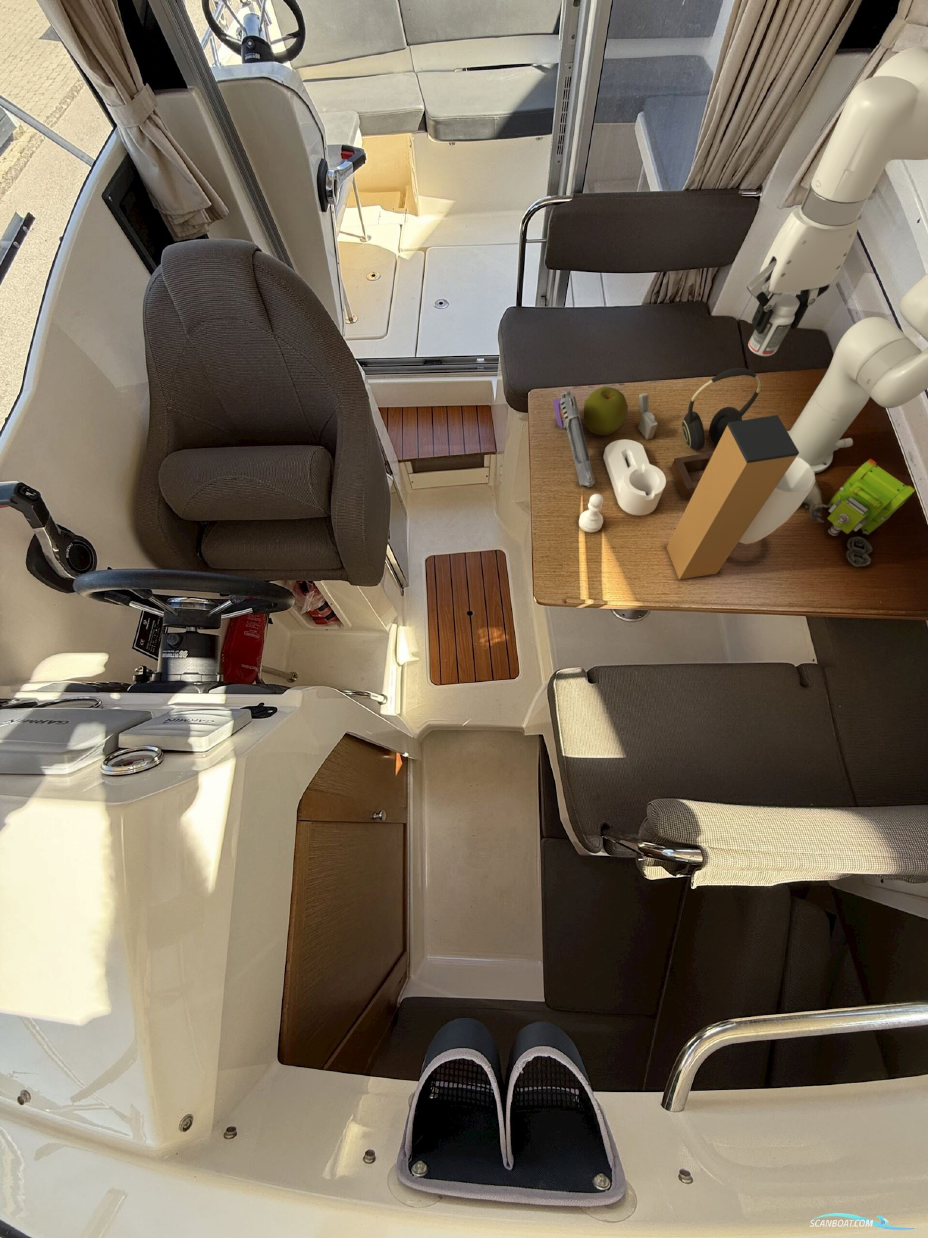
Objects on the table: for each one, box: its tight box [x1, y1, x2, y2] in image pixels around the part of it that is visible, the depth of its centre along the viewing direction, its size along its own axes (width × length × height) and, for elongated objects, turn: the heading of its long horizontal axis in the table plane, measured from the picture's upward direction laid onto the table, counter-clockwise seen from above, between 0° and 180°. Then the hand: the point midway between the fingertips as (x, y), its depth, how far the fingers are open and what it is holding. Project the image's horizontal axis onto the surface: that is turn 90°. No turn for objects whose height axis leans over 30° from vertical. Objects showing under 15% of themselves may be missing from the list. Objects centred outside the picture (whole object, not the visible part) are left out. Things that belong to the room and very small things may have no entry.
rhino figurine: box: [802, 479, 830, 524], centre depth 121 cm, size 4×14×6 cm, turn 7°
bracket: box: [602, 439, 667, 516], centre depth 125 cm, size 20×9×7 cm, turn 8°
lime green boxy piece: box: [827, 458, 916, 537], centre depth 115 cm, size 13×16×14 cm
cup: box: [738, 457, 816, 545], centre depth 110 cm, size 10×10×22 cm
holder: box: [669, 451, 714, 500], centre depth 126 cm, size 9×9×4 cm
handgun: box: [552, 390, 596, 488], centre depth 130 cm, size 3×22×15 cm
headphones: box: [681, 367, 762, 451], centre depth 124 cm, size 9×15×20 cm, turn 98°
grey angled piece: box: [638, 392, 659, 441], centre depth 132 cm, size 7×2×8 cm, turn 22°
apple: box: [582, 386, 629, 436], centre depth 131 cm, size 10×10×11 cm
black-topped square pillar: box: [666, 414, 799, 580], centre depth 103 cm, size 8×8×35 cm
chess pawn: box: [578, 493, 604, 533], centre depth 119 cm, size 5×5×9 cm
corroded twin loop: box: [845, 535, 874, 568], centre depth 117 cm, size 5×8×1 cm, turn 156°
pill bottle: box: [747, 292, 800, 357], centre depth 93 cm, size 5×5×8 cm
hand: (774, 324), depth 93 cm, fingers closed on pill bottle, 4 cm apart
